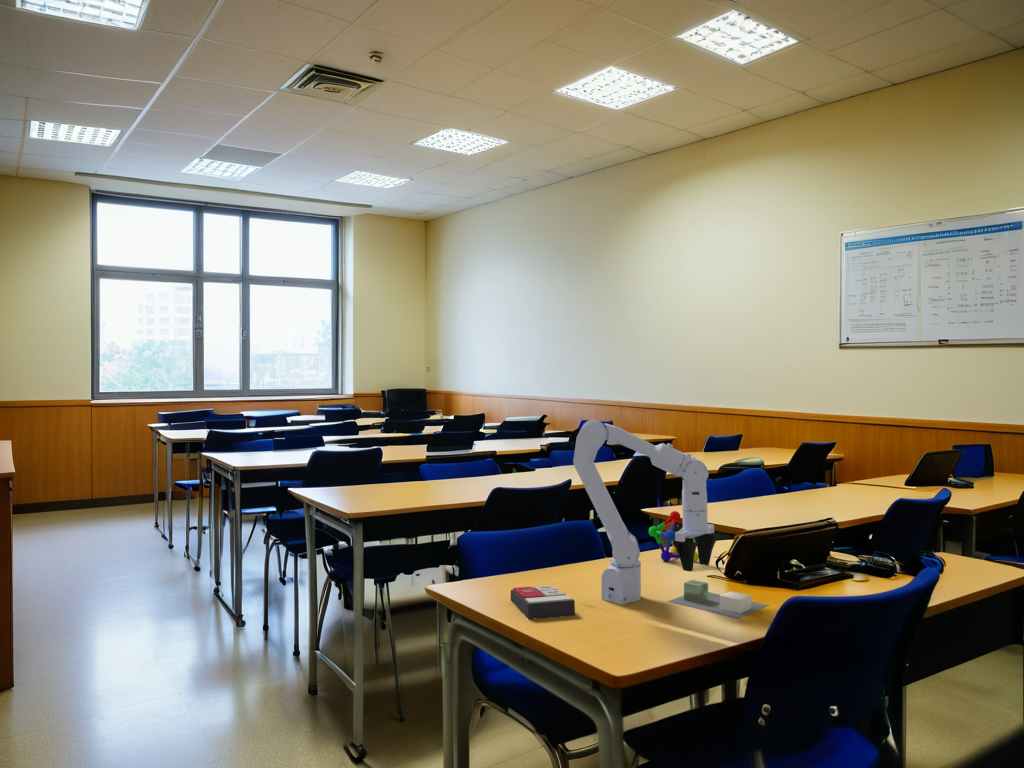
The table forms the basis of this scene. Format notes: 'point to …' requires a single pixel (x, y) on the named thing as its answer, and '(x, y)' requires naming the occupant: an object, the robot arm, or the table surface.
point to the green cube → (696, 591)
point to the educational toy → (668, 536)
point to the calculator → (542, 602)
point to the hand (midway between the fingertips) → (696, 567)
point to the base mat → (716, 606)
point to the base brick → (735, 602)
